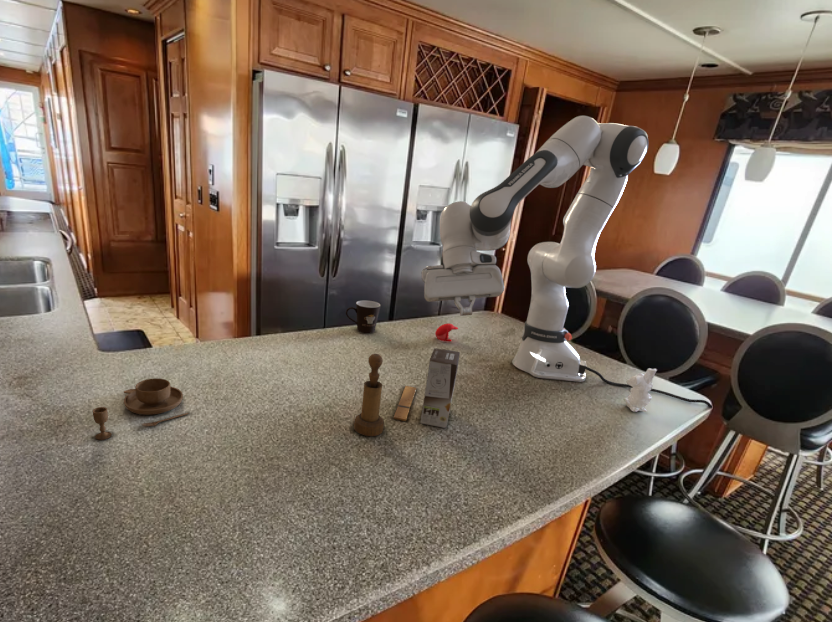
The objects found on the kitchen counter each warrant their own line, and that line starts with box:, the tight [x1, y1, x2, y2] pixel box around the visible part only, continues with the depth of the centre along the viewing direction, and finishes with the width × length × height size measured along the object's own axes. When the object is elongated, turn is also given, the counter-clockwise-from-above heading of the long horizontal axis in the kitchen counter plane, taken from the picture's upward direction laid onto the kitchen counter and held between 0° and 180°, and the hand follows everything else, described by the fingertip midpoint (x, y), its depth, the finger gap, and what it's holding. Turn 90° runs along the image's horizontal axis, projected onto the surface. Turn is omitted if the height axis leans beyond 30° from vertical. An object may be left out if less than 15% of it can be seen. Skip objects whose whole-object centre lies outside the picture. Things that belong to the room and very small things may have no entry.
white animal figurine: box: [623, 367, 658, 413], centre depth 124 cm, size 8×7×12 cm
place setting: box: [92, 377, 189, 441], centre depth 99 cm, size 18×20×6 cm
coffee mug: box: [345, 300, 381, 335], centre depth 163 cm, size 12×9×10 cm
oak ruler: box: [392, 385, 417, 422], centre depth 116 cm, size 3×18×1 cm, turn 168°
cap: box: [434, 323, 459, 343], centre depth 163 cm, size 8×6×6 cm
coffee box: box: [420, 347, 461, 429], centre depth 108 cm, size 9×6×16 cm
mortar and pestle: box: [353, 353, 385, 437], centre depth 99 cm, size 7×6×18 cm
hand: (466, 314), depth 116 cm, fingers closed
